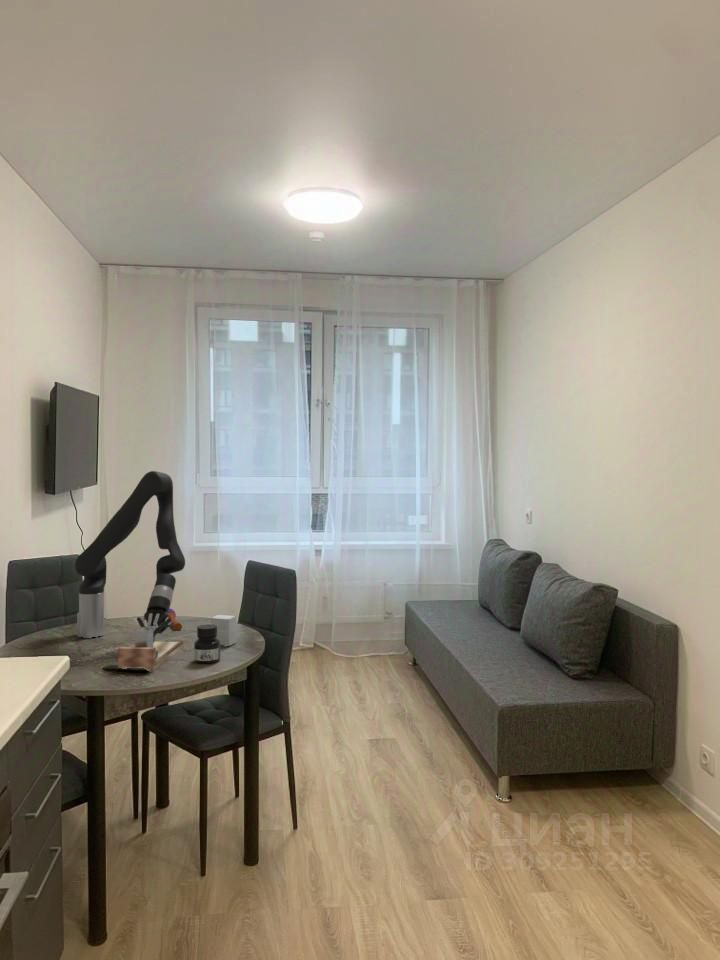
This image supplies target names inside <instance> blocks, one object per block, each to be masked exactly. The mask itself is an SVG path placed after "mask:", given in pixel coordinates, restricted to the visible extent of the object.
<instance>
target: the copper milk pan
mask: <svg viewBox="0 0 720 960" xmlns="http://www.w3.org/2000/svg"><path fill="white" fill-rule="evenodd" d="M184 647H185V642H184V640H180V641H155V640H154V642H153V648H151V647H135V646H119V647H118V648H117V669H118V668H122V669H127V668H144V669H146V670H147V671H149V672H150V673H151V672H152V673H153V672H155V671H156V670H157V669H159V668H160V667H161V666H162V665H164V664H165V663H166V662H168V660H169V659H171V658H172V657H173V656H174V655H176V654H177V653H178V652H179V651H181V650H182V648H184ZM156 650H158V657H157V658H156Z"/></svg>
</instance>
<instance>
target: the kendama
mask: <svg viewBox="0 0 720 960" xmlns="http://www.w3.org/2000/svg"><path fill="white" fill-rule="evenodd" d="M176 615H177V614H176V612H175V610H174V609H173V608H171V607H170V608H169V612H168V618H171V620H172V622H173V623H172V625H171V626H172V628H173V629H174V631H176V630H178V631H181V630H182V627H183V625H182V624H181V622H179V621H177V620H175V619H176Z"/></svg>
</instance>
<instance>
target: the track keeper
mask: <svg viewBox="0 0 720 960" xmlns="http://www.w3.org/2000/svg"><path fill="white" fill-rule="evenodd" d="M134 640H135V641H134V642H135V645H134V647H151V648H153V627H147V626H145V627H141V626H140V628H138V629H137V630H134ZM157 657H158V650H156V658H157Z"/></svg>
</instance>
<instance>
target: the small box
mask: <svg viewBox="0 0 720 960" xmlns="http://www.w3.org/2000/svg"><path fill="white" fill-rule="evenodd" d="M210 624H211V625H216V626H217V637H216V638H217V639H218V640H219V641H220V645H227V646H230V645H232V644H234V643H235V644H237V616H235V615H227V614H224V615H223V614H217V615H214V616H212V617H210ZM235 644H234V645H235ZM227 646H226V647H227ZM232 646H233V645H232ZM230 647H231V646H230Z"/></svg>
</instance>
